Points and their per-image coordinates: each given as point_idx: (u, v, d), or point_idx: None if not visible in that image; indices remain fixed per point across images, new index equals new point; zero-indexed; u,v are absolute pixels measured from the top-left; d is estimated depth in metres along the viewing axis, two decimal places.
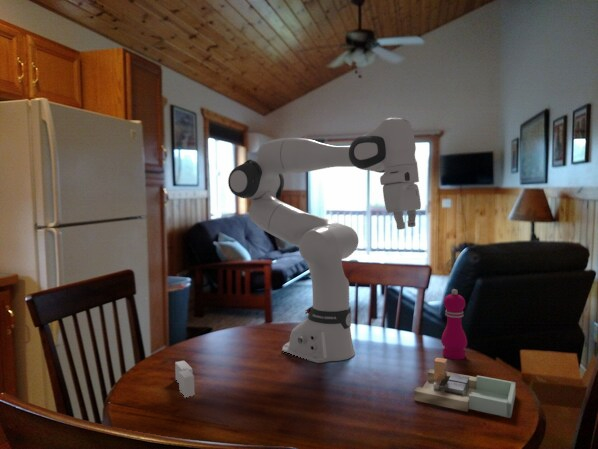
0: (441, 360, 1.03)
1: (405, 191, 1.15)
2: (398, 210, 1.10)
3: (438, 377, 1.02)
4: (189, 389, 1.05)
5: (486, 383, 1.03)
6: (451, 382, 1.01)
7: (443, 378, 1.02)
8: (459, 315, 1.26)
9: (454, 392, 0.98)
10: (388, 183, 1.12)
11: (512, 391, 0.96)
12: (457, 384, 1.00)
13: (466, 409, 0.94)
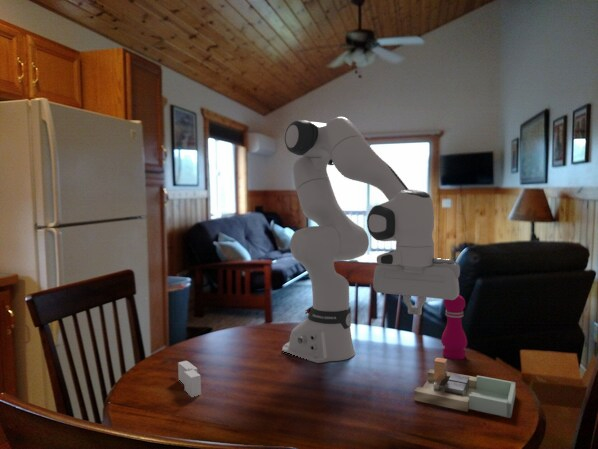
0: (441, 360, 1.03)
1: (401, 273, 1.05)
2: None
3: (438, 377, 1.02)
4: (196, 388, 1.05)
5: (486, 383, 1.03)
6: (451, 382, 1.01)
7: (443, 378, 1.02)
8: (459, 315, 1.26)
9: (454, 392, 0.98)
10: None
11: (512, 391, 0.96)
12: (457, 384, 1.00)
13: (466, 409, 0.94)
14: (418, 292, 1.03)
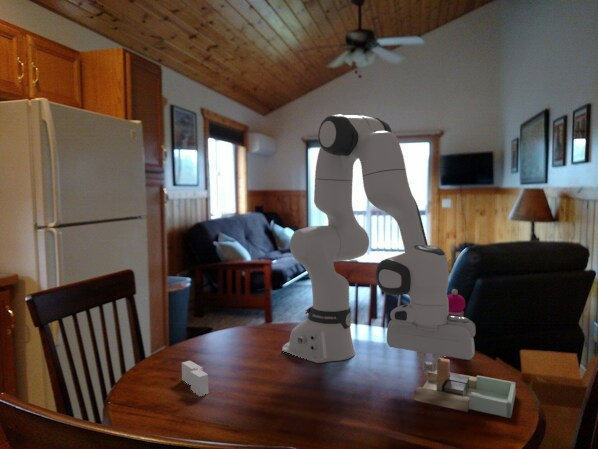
0: (444, 360, 1.03)
1: (415, 330, 1.04)
2: None
3: (441, 378, 1.02)
4: (204, 387, 1.05)
5: (486, 383, 1.03)
6: (451, 382, 1.01)
7: (446, 379, 1.02)
8: (459, 315, 1.26)
9: (454, 392, 0.98)
10: None
11: (512, 391, 0.96)
12: (457, 384, 1.00)
13: (466, 409, 0.94)
14: (433, 350, 1.02)
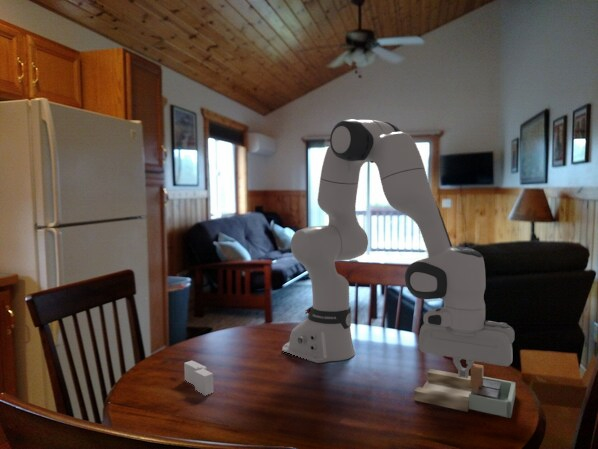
0: (478, 366, 0.99)
1: (449, 335, 1.00)
2: None
3: (475, 384, 0.98)
4: (209, 386, 1.06)
5: None
6: (483, 388, 0.98)
7: (480, 385, 0.98)
8: None
9: None
10: None
11: (512, 391, 0.96)
12: (490, 390, 0.97)
13: (466, 409, 0.94)
14: (468, 356, 0.98)
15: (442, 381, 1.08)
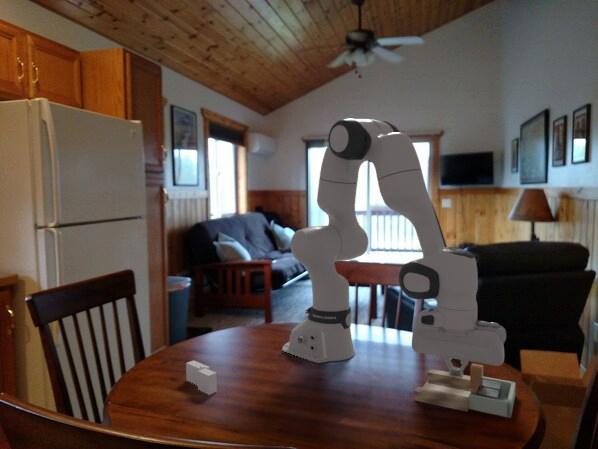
0: (477, 366, 0.99)
1: (442, 335, 1.01)
2: None
3: (474, 384, 0.98)
4: (213, 386, 1.06)
5: None
6: (483, 388, 0.98)
7: (480, 385, 0.98)
8: None
9: None
10: None
11: (512, 391, 0.96)
12: (490, 390, 0.97)
13: (466, 409, 0.94)
14: (461, 355, 0.99)
15: (442, 381, 1.08)
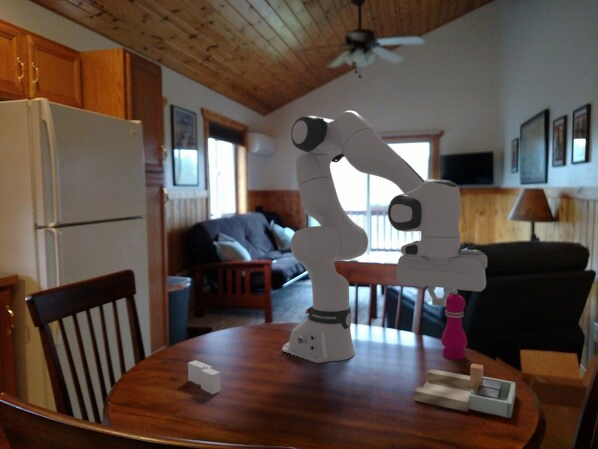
0: (477, 366, 0.99)
1: (426, 264, 1.03)
2: (398, 281, 1.07)
3: (474, 384, 0.98)
4: (216, 385, 1.06)
5: None
6: (483, 388, 0.98)
7: (480, 385, 0.98)
8: (459, 315, 1.26)
9: None
10: None
11: (512, 391, 0.96)
12: (490, 390, 0.97)
13: (466, 409, 0.94)
14: (443, 283, 1.01)
15: (442, 381, 1.08)
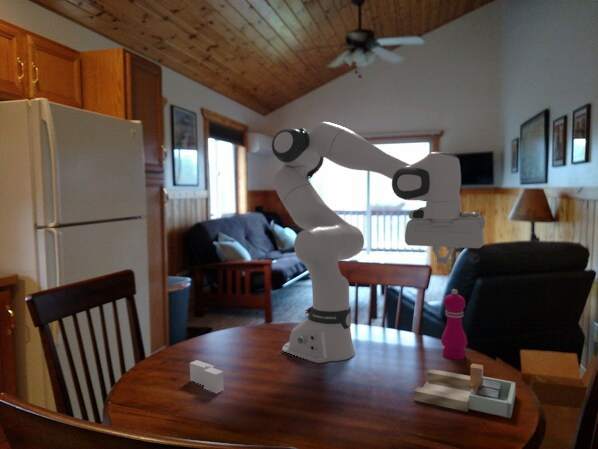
0: (477, 366, 0.99)
1: (431, 227, 1.18)
2: None
3: (474, 384, 0.98)
4: (220, 384, 1.07)
5: None
6: (483, 388, 0.98)
7: (480, 385, 0.98)
8: (459, 315, 1.26)
9: None
10: None
11: (512, 391, 0.96)
12: (490, 390, 0.97)
13: (466, 409, 0.94)
14: (447, 243, 1.15)
15: (442, 381, 1.08)
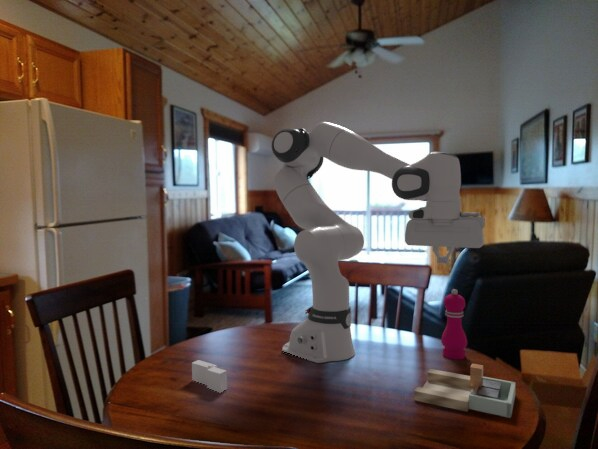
0: (477, 366, 0.99)
1: (431, 227, 1.18)
2: (406, 243, 1.21)
3: (474, 384, 0.98)
4: (223, 383, 1.07)
5: None
6: (483, 388, 0.98)
7: (480, 385, 0.98)
8: (459, 315, 1.26)
9: None
10: None
11: (512, 391, 0.96)
12: (490, 390, 0.97)
13: (466, 409, 0.94)
14: (447, 242, 1.16)
15: (442, 381, 1.08)
